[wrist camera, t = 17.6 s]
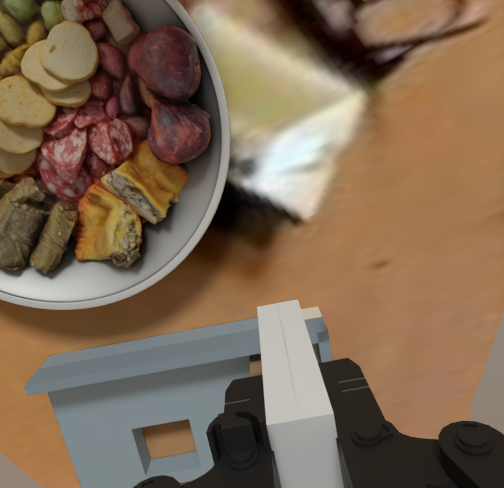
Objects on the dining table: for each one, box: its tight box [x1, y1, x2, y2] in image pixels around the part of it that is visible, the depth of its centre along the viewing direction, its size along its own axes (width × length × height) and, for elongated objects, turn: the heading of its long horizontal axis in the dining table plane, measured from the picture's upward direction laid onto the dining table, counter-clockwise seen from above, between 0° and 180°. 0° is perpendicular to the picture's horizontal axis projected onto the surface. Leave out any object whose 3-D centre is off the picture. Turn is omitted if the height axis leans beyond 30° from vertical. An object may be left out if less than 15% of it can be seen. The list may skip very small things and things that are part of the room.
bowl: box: [0, 0, 231, 310], centre depth 36 cm, size 30×30×8 cm
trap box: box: [24, 306, 333, 488], centre depth 44 cm, size 28×16×6 cm, turn 101°
